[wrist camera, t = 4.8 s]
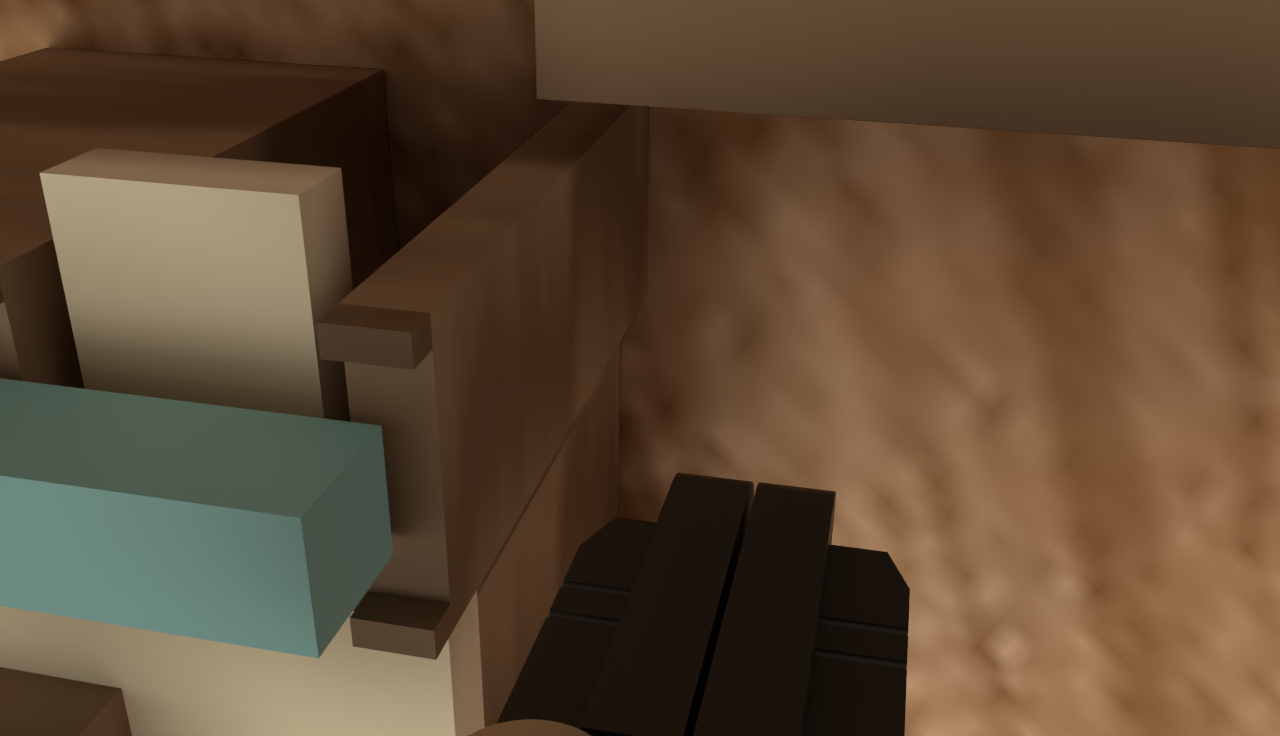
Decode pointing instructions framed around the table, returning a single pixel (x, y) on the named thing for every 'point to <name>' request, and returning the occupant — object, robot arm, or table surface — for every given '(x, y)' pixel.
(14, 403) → the teal rectangular piece
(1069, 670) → the table surface
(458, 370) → the mini nightstand
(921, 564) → the table surface
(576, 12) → the stand
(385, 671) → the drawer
